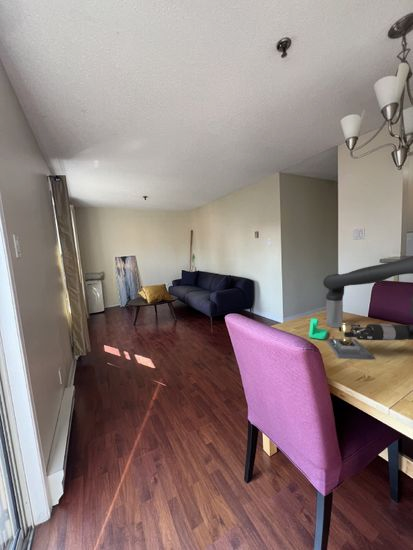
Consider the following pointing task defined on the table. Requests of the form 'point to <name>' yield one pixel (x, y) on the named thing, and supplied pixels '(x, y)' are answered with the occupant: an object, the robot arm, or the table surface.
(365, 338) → the robot arm
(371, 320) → the table surface
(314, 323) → the camera mount
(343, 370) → the table surface
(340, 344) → the dock
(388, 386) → the table surface
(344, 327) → the brass cylinder peg
